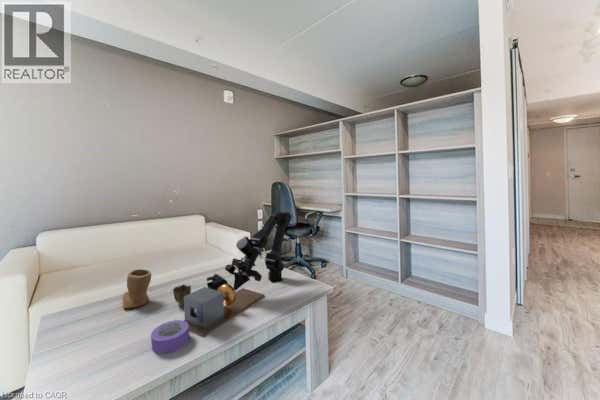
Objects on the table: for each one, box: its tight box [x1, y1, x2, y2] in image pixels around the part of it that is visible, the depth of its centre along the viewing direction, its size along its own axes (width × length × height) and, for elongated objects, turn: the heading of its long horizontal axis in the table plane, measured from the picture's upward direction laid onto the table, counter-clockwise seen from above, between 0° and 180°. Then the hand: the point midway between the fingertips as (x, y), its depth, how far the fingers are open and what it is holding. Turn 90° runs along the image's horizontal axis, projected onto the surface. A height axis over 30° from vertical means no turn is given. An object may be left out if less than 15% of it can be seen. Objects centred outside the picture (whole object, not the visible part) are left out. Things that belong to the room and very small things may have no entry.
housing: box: [183, 286, 265, 338], centre depth 111 cm, size 36×14×12 cm, turn 150°
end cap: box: [206, 273, 229, 291], centre depth 131 cm, size 10×7×7 cm
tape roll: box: [150, 319, 190, 355], centre depth 89 cm, size 12×12×5 cm
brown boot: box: [121, 268, 152, 309], centre depth 119 cm, size 15×12×15 cm
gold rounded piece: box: [193, 283, 236, 315], centre depth 105 cm, size 17×9×9 cm, turn 150°
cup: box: [172, 284, 192, 307], centre depth 116 cm, size 8×7×8 cm
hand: (234, 290), depth 115 cm, fingers closed
